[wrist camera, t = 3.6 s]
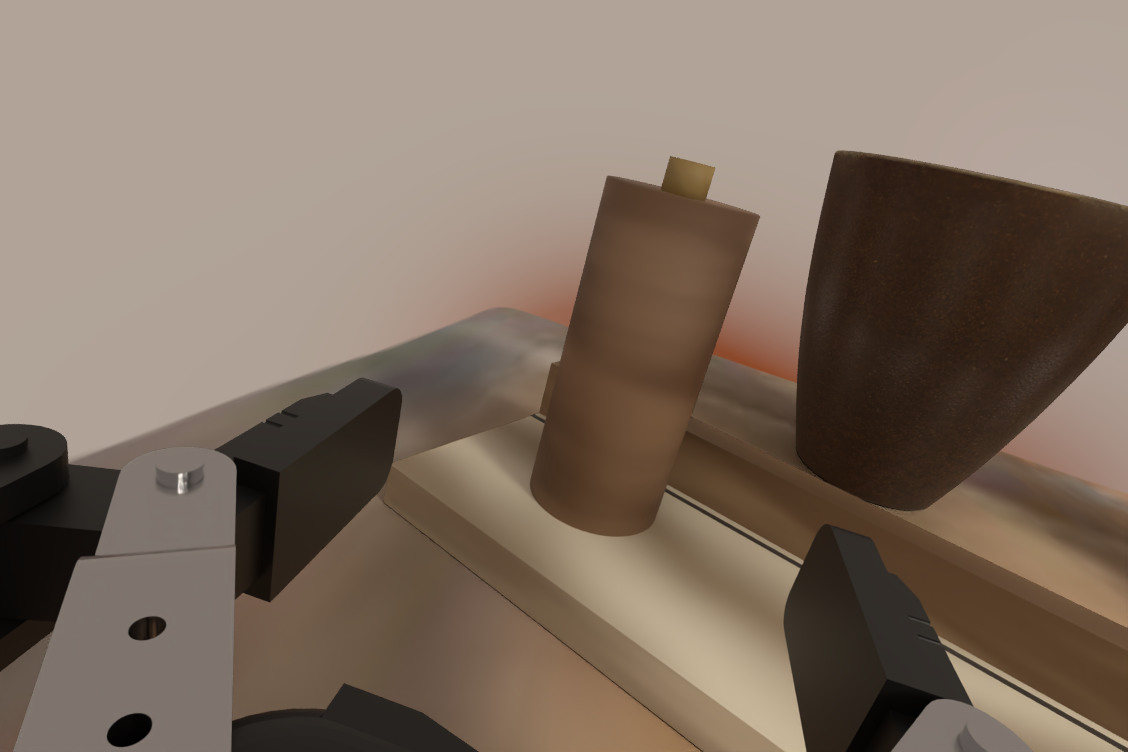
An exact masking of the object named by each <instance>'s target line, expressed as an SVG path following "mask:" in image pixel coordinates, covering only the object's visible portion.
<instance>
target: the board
mask: <svg viewBox="0 0 1128 752" xmlns="http://www.w3.org/2000/svg"><path fill="white" fill-rule="evenodd" d="M559 364H560V361H559V362H555V363H552V364H551V368H550V372H549V376H548V380H547V384H546V388H545V392H544V396H543V400H542V404H541V408H540V412H539V413H538V414H533V415H531V416H529V417H526V418H523V419H520V420H517V421H514V422H511V423H508V424H505V425H502V426H499V427H496V428H493V429H490V430H487V431H484V432H481V433H479V434H476V435H473V436H470V437H467V438H464V439H461V440H458V441H455V442H452V443H449V444H446V445H443V446H440V447H437V448H434V449H431V450H428V451H425V452H422V453H419V454H416V455H413V456H410V457H407V458H404V459H401V460H398V461H395V462H392V466H391V470H390V473H389V475H388V477H387V481H386V487H385V494H384V500H383V502H384V503H385V504H387V505H388V506H389V507H391V508H392V509H393V510H394V511H396V512H397V513H398V514H400V515H401V516H402V517H403V518H405V519H406V520H407V521H409V522H410V523H411V524H412V525H414V526H415V527H416V528H418V529H419V530H420V531H421V532H423V533H424V534H425V535H426V536H428V537H429V538H430V539H432V540H433V541H434V542H435V543H437V544H438V545H439V546H441V547H442V548H443V549H444V550H446V551H447V552H448V553H450V554H451V555H452V556H453V557H455V558H456V559H457V560H458V561H460V562H461V563H462V564H464V565H465V566H466V567H467V568H469V569H470V570H471V571H473V572H474V573H475V574H476V575H478V576H479V577H480V578H482V579H483V580H484V581H485V582H487V583H488V584H489V585H491V586H492V587H493V588H494V589H496V590H497V591H498V592H499V593H501V594H502V595H503V596H505V597H506V598H507V599H508V600H510V601H511V602H512V603H514V604H515V605H516V606H517V607H519V608H520V609H521V610H523V611H524V612H525V613H526V614H528V615H529V616H530V617H531V618H533V619H534V620H535V621H537V622H538V623H539V624H540V625H542V626H543V627H544V628H546V629H547V630H548V631H549V632H551V633H552V634H553V635H555V636H556V637H557V638H558V639H560V640H561V641H562V642H564V643H565V644H566V645H567V646H569V647H570V648H571V649H572V650H574V651H575V652H576V653H578V654H579V655H580V656H581V657H583V658H584V659H585V660H587V661H588V662H589V663H590V664H592V665H593V666H594V667H596V668H597V669H598V670H599V671H601V672H602V673H603V674H604V675H606V676H607V677H608V678H610V679H611V680H612V681H613V682H615V683H616V684H617V685H619V686H620V687H621V688H622V689H624V690H625V691H626V692H628V693H629V694H630V695H631V696H633V697H634V698H635V699H637V700H638V701H639V702H640V703H642V704H643V705H644V706H645V707H647V708H648V709H649V710H651V711H652V712H653V713H654V714H656V715H657V716H658V717H660V718H661V719H662V720H663V721H665V722H666V723H667V724H669V725H670V726H671V727H672V728H674V729H675V730H676V731H677V732H679V733H680V734H681V735H683V736H684V737H685V738H686V739H688V740H689V741H690V742H692V743H693V744H694V745H695V746H697V747H698V748H699V749H701V750H702V751H703V752H806V747H805V741H804V736H803V731H802V725H801V720H800V714H799V709H798V703H797V698H796V693H795V687H794V682H793V676H792V671H791V665H790V660H789V655H788V649H787V644H786V638H785V633H784V625H783V620H784V610H785V605H786V601H787V598H788V595H789V592H790V590H791V588H792V586H793V583H794V581H795V579H796V577H797V575H798V573H799V570H800V568H801V566H802V564H803V562H804V560H805V558H806V555H807V553H808V551H809V549H810V547H811V545H812V542H813V540H814V538H815V536H816V534H817V532H818V531H819V529H820V528H821V527H822V526H823V525H825V524H829V525H833V526H836V527H839V528H842V529H845V530H849V531H852V532H855V533H858V534H861V535H864V536H868V537H870V538H871V539H872V540H873V541H874V544H875V546H876V548H877V550H878V552H879V554H880V556H881V559H882V561H883V563H884V565H885V567H886V569H887V571H888V572H889V573H892V574H895V575H897V576H898V577H899V578H900V579H901V580H902V582H903V583H904V584H905V585H906V586H907V587H908V588H909V589H910V590H911V591H912V592H913V593H914V594H915V595H916V596H917V597H918V598H919V600H920V602H921V604H922V606H923V608H924V610H925V612H926V614H927V616H928V618H929V620H930V622H931V623H930V626H932V627H933V628H934V630H935V631H936V633H937V635H938V637H939V639H940V641H941V643H940V646H941V647H944V649H945V651H946V653H947V655H948V657H949V659H950V661H951V663H952V665H953V667H954V669H955V671H956V673H957V675H958V677H959V679H960V681H961V682H962V684H963V686H964V688H965V690H966V692H967V694H968V696H969V698H970V700H971V702H972V704H973V706H974V707H975V708H977V709H979V710H981V711H983V712H985V713H987V714H988V715H990V716H992V717H993V718H995V719H996V720H998V721H999V722H1001V723H1002V724H1004V725H1005V726H1006V727H1007V728H1009V729H1010V730H1011V731H1013V732H1014V733H1015V734H1016V735H1017V736H1018V737H1019V738H1021V739H1022V740H1023V741H1024V742H1025V743H1026V744H1027V745H1028V746H1029V747H1030V748H1031V750H1032V751H1033V752H1128V628H1126V627H1124V626H1122V625H1120V624H1118V623H1116V622H1114V621H1111V620H1109V619H1107V618H1105V617H1103V616H1101V615H1099V614H1097V613H1095V612H1093V611H1091V610H1089V609H1087V608H1085V607H1083V606H1081V605H1078V604H1076V603H1074V602H1072V601H1070V600H1068V599H1066V598H1064V597H1062V596H1060V595H1058V594H1056V593H1054V592H1052V591H1050V590H1047V589H1045V588H1043V587H1041V586H1039V585H1037V584H1035V583H1033V582H1031V581H1029V580H1027V579H1025V578H1023V577H1021V576H1019V575H1017V574H1014V573H1012V572H1010V571H1008V570H1006V569H1004V568H1002V567H1000V566H998V565H996V564H994V563H992V562H990V561H988V560H986V559H983V558H981V557H979V556H977V555H975V554H973V553H971V552H969V551H967V550H965V549H963V548H961V547H959V546H957V545H955V544H953V543H950V542H948V541H946V540H944V539H942V538H940V537H938V536H936V535H934V534H932V533H930V532H928V531H926V530H924V529H922V528H920V527H917V526H915V525H913V524H911V523H909V522H907V521H905V520H903V519H901V518H899V517H897V516H895V515H893V514H891V513H889V512H886V511H884V510H882V509H880V508H878V507H876V506H874V505H872V504H870V503H868V502H866V501H864V500H862V499H860V498H858V497H856V496H853V495H851V494H849V493H847V492H845V491H843V490H841V489H839V488H837V487H835V486H833V485H831V484H829V483H827V482H825V481H822V480H820V479H818V478H816V477H814V476H812V475H810V474H808V473H806V472H804V471H802V470H800V469H798V468H796V467H794V466H792V465H789V464H787V463H785V462H783V461H781V460H779V459H777V458H775V457H773V456H771V455H769V454H767V453H765V452H763V451H761V450H758V449H756V448H754V447H752V446H750V445H748V444H746V443H744V442H742V441H740V440H738V439H736V438H734V437H732V436H730V435H728V434H725V433H723V432H721V431H719V430H717V429H715V428H713V427H711V426H709V425H707V424H705V423H703V422H701V421H699V420H697V419H694V418H692V417H690V420H689V423H688V426H687V429H686V432H685V435H684V438H683V440H682V443H681V446H680V449H679V452H678V455H677V458H676V461H675V464H674V466H673V469H672V472H671V475H670V478H669V481H668V484H667V487H666V490H665V492H664V495H663V498H662V501H661V504H660V507H659V510H658V513H657V516H656V518H655V521H654V523H653V524H652V525H651V526H650V528H648V529H647V530H645V531H643V532H641V533H639V534H635V535H631V536H623V537H611V536H602V535H597V534H592V533H588V532H585V531H581V530H579V529H576V528H573V527H571V526H569V525H567V524H565V523H563V522H561V521H559V520H557V519H556V518H554V517H553V516H551V515H550V514H549V513H548V512H546V511H545V510H544V509H543V508H542V507H541V506H540V505H539V504H538V503H537V501H536V500H535V498H534V497H533V495H532V492H531V489H530V479H531V475H532V471H533V467H534V463H535V459H536V455H537V451H538V447H539V444H540V440H541V436H542V432H543V428H544V424H545V420H546V416H547V412H548V408H549V404H550V400H551V396H552V392H553V388H554V384H555V380H556V376H557V372H558V368H559Z"/></svg>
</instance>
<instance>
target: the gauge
mask: <svg viewBox="0 0 1128 752" xmlns="http://www.w3.org/2000/svg"><path fill="white" fill-rule="evenodd" d="M714 171H715V167H711V166H707V165H703V164H700V163H696V162H692V161H688V160H684V159H680V158H676V157H671V156H670V159H669V162H668V166H667V169H666V173H665V177H664V180H663V183H662V187H660V186H656V185H652V184H647V183H643V182H639V181H634V180H629V179H625V178H620V177H614V176H607V178H606V182H605V187H604V190H603V194H602V198H601V202H600V206H599V210H598V214H597V218H596V222H595V226H594V230H593V234H592V238H591V242H590V246H589V250H588V253H587V257H586V262H585V265H584V269H583V274H582V277H581V281H580V286H579V289H578V293H577V297H576V301H575V305H574V309H573V313H572V317H571V321H570V325H569V329H568V333H567V337H566V341H565V345H564V349H563V352H562V356H561V360H560V364H559V368H558V372H557V376H556V380H555V384H554V388H553V392H552V396H551V400H550V404H549V408H548V412H547V416H546V420H545V424H544V428H543V432H542V436H541V440H540V444H539V447H538V451H537V455H536V459H535V463H534V467H533V471H532V475H531V479H530V489H531V492H532V495H533V497H534V498H535V500H536V501H537V503H538V504H539V505H540V506H541V507H542V508H543V509H544V510H545V511H546V512H548V513H549V514H550V515H551V516H553V517H554V518H556V519H557V520H559V521H561V522H563V523H565V524H567V525H569V526H571V527H573V528H576V529H579V530H581V531H585V532H588V533H592V534H597V535H602V536H611V537H623V536H631V535H635V534H639V533H641V532H643V531H645V530H647V529H648V528H650V526H651V525H652V524H653V523H654V521H655V518H656V516H657V513H658V510H659V507H660V504H661V501H662V498H663V495H664V492H665V490H666V487H667V484H668V481H669V478H670V475H671V472H672V469H673V466H674V464H675V461H676V458H677V455H678V452H679V449H680V446H681V443H682V440H683V438H684V435H685V432H686V429H687V426H688V423H689V420H690V417H691V415H692V412H693V409H694V406H695V403H696V400H697V397H698V394H699V391H700V389H701V386H702V383H703V380H704V377H705V374H706V371H707V368H708V365H709V363H710V360H711V357H712V354H713V351H714V348H715V345H716V342H717V339H718V337H719V334H720V331H721V328H722V325H723V322H724V319H725V316H726V313H727V310H728V308H729V305H730V302H731V299H732V296H733V293H734V290H735V288H736V285H737V282H738V279H739V276H740V273H741V270H742V267H743V264H744V262H745V259H746V256H747V253H748V250H749V247H750V244H751V241H752V238H753V236H754V233H755V230H756V227H757V224H758V221H759V218H760V216H759V215H757V214H755V213H752V212H749V211H746V210H743V209H740V208H737V207H733V206H730V205H727V204H723V203H720V202H716V201H713V200H709V199H706V197H707V193H708V190H709V187H710V184H711V180H712V177H713V174H714Z"/></svg>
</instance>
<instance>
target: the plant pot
mask: <svg viewBox="0 0 1128 752" xmlns="http://www.w3.org/2000/svg"><path fill="white" fill-rule="evenodd" d="M1127 323H1128V206H1125V205H1120V204H1117V203H1113V202H1109V201H1105V200H1101V199H1097V198H1093V197H1088V196H1084V195H1080V194H1076V193H1071V192H1067V191H1063V190H1058V189H1054V188H1049V187H1045V186H1040V185H1036V184H1031V183H1026V182H1022V181H1018V180H1013V179H1008V178H1003V177H998V176H993V175H988V174H983V173H978V172H974V171H969V170H963V169H958V168H953V167H948V166H943V165H937V164H931V163H926V162H921V161H915V160H910V159H904V158H898V157H891V156H885V155H879V154H871V153H863V152H855V151H837V152H836V153H835V155H834V159H833V163H832V168H831V172H830V176H829V180H828V185H827V189H826V193H825V198H824V202H823V206H822V211H821V215H820V220H819V225H818V229H817V234H816V239H815V244H814V249H813V254H812V260H811V265H810V271H809V277H808V283H807V288H806V295H805V302H804V311H803V319H802V328H801V336H800V347H799V359H798V374H797V399H796V449H797V452H798V454H799V456H800V458H801V459H802V461H803V462H804V463H805V464H806V465H807V466H808V467H809V468H810V469H811V470H812V471H813V472H815V473H816V474H817V475H819V476H820V477H822V478H823V479H824V480H826V481H828V482H829V483H831V484H832V485H834V486H836V487H837V488H839V489H841V490H843V491H845V492H847V493H849V494H851V495H854V496H856V497H859V498H861V499H863V500H866V501H869V502H871V503H875V504H878V505H881V506H885V507H889V508H893V509H899V510H908V511H914V510H922V509H925V508H927V507H929V506H930V505H932V504H933V503H934V502H936V501H937V500H939V499H940V498H941V497H943V496H944V495H945V494H947V493H948V492H949V491H951V490H952V489H953V488H955V487H956V486H957V485H959V484H960V483H961V482H962V481H964V480H965V479H966V478H967V477H969V476H970V475H971V474H972V473H974V472H975V471H976V470H977V469H979V468H980V467H981V466H982V465H984V464H985V463H986V462H987V461H988V460H990V459H991V458H992V457H993V456H994V455H995V454H997V453H998V452H999V451H1000V450H1001V449H1002V448H1003V447H1004V446H1005V445H1007V444H1008V443H1009V442H1010V441H1011V440H1012V439H1014V438H1015V437H1016V436H1017V435H1018V434H1019V433H1020V432H1021V431H1022V430H1023V429H1025V428H1026V427H1027V426H1028V425H1029V424H1030V423H1031V422H1032V421H1033V420H1035V419H1036V418H1037V416H1039V415H1040V414H1041V413H1042V412H1043V411H1044V410H1045V409H1046V408H1047V407H1048V406H1049V405H1050V404H1051V403H1052V402H1053V401H1054V400H1055V399H1056V398H1057V397H1058V396H1059V395H1060V394H1061V393H1062V392H1063V391H1064V390H1065V389H1066V388H1067V387H1068V386H1069V385H1070V384H1071V383H1072V382H1073V381H1074V380H1075V379H1076V378H1077V377H1078V376H1079V375H1080V374H1081V373H1082V372H1083V371H1084V370H1085V369H1086V368H1087V367H1088V366H1089V364H1091V363H1092V362H1093V361H1094V360H1095V358H1096V357H1097V356H1098V355H1099V354H1100V353H1101V352H1102V351H1103V350H1104V349H1105V348H1106V347H1107V346H1108V344H1109V343H1110V342H1111V341H1112V340H1113V339H1114V338H1115V337H1116V335H1117V334H1118V333H1119V332H1120V331H1121V330H1122V329H1123V328H1124V326H1125V325H1126V324H1127Z"/></svg>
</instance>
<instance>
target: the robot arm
mask: <svg viewBox="0 0 1128 752" xmlns="http://www.w3.org/2000/svg"><path fill="white" fill-rule="evenodd" d="M401 404H402V394H401V391H400V390H399V389H398V388H394V387H391V386H388V385H385V384H382V383H378V382H375V381H372V380H369V379H366V378H359V379H357V380H356V381H354V382H353V383H351V384H349V385H348V386H346V387H345V388H343V389H341V390H340V391H338V392H337V393H335V394H333V395H332V394H329V393H325V394H321V395H317V396H313V397H309V398H305V399H301V400H299V401H297V402H296V403H294V404H292V405H291V406H289V407H287V408H285V409H284V410H282V412H281V413H277V414H275V415H273V416H272V417H270V418H268V419H267V420H266V422H265V423H263V422H261V423H260V424H258V425H256V426H255V427H253V428H251V429H250V430H248V431H246V432H244V433H243V434H241V435H239V436H238V437H236V438H234V439H232V440H231V441H229V442H227V443H226V444H224V445H222V446H220V447H219V448H217V449H215V450H211V449H206V448H199V447H172V448H165V449H160V450H155V451H152V452H149V453H146V454H143V455H141V456H138V457H137V458H135V459H133V460H131V461H130V462H129V463H127V464H126V465H125V466H124V467H123V469H122V470H114V469H105V468H97V467H88V466H79V465H71V464H68V451H67V441H66V439H65V437H64V436H63V435H62V434H60V433H59V432H57V431H55V430H52V429H49V428H45V427H41V426H35V425H25V424H24V425H23V424H8V425H7V424H6V425H0V671H2V670H3V669H4V668H6V667H7V666H8V665H9V664H11V663H12V662H13V661H15V660H16V659H17V658H18V657H20V656H21V655H22V654H24V653H25V652H26V651H27V650H29V649H30V648H31V647H33V646H34V645H35V644H36V643H38V642H39V641H40V640H41V639H43V638H44V637H45V636H47V635H48V634H49V633H50V632H52V631H53V633H52V636H51V639H50V642H49V645H48V648H47V651H46V654H45V657H44V660H43V663H42V666H41V669H40V672H39V675H38V678H37V681H36V684H35V687H34V690H33V693H32V696H31V699H30V702H29V705H28V708H27V711H26V714H25V717H24V720H23V723H22V726H21V729H20V732H19V735H18V738H17V741H16V744H15V747H14V750H13V752H478V751H477V750H475V749H474V748H472V747H471V746H469V745H468V744H467V743H465V742H464V741H462V740H461V739H459V738H458V737H457V736H455V735H454V734H452V733H451V732H449V731H448V730H446V729H445V728H444V727H442V726H441V725H439V724H438V723H436V722H435V721H434V720H432V719H431V718H429V717H428V716H426V715H425V714H423V713H422V712H419V711H417V710H414V709H411V708H409V707H406V706H403V705H401V704H398V703H395V702H393V701H390V700H387V699H385V698H382V697H379V696H377V695H374V694H371V693H369V692H366V691H363V690H361V689H358V688H355V687H353V686H350V685H347V684H345V683H344V684H343V686H342V687H341V689H340V690H339V692H338V693H337V694H336V696H335V697H334V699H333V700H332V702H331V703H330V705H329V706H328V708H327V709H326V710H325V709H286V710H277V711H270V712H265V713H260V714H255V715H251V716H247V717H243V718H240V719H237V720H234V721H232V690H233V646H234V601H235V599H236V598H238V597H239V596H240V595H241V594H242V593H245V594H248V595H251V596H254V597H256V598H259V599H262V600H265V601H267V602H271V601H272V600H273V599H274V598H275V597H276V596H277V595H278V594H279V593H280V592H281V591H282V590H283V589H284V588H285V587H286V586H287V585H288V584H289V583H290V582H291V581H292V580H293V579H294V577H295V576H296V575H297V574H298V573H299V572H300V571H301V570H302V569H303V568H304V567H305V566H306V565H307V564H308V563H309V562H310V561H311V560H312V559H313V558H314V557H315V556H316V555H317V554H318V553H319V552H320V551H321V550H322V549H323V548H324V547H325V546H326V545H327V544H328V543H329V542H330V541H331V540H332V539H333V538H334V537H335V536H336V535H337V534H338V533H339V532H340V531H341V530H342V529H343V528H344V527H345V526H346V525H347V524H348V523H349V522H350V521H351V520H352V519H353V518H354V517H355V516H356V515H357V514H358V513H359V512H360V511H361V509H362V508H363V507H364V506H365V505H366V504H367V503H368V502H369V501H370V500H371V499H372V498H373V497H374V496H375V495H376V494H377V493H378V492H379V491H380V490H381V488H382V487H383V485H384V484H385V482H386V480H387V477H388V475H389V473H390V470H391V466H392V462H393V457H394V450H395V444H396V437H397V430H398V424H399V417H400V411H401ZM930 623H931V622H930V620H929V618H928V616H927V614H926V612H925V610H924V608H923V606H922V604H921V602H920V600H919V598H918V597H917V596H916V595H915V594H914V593H913V592H912V591H911V590H910V589H909V588H908V587H907V586H906V585H905V584H904V583H903V582H902V580H901V579H900V578H899V577H898V576H897V575H895V574H892V573H889V572H888V571H887V569H886V567H885V565H884V563H883V561H882V559H881V556H880V554H879V552H878V550H877V548H876V546H875V544H874V541H873V540H872V539H871V538H870V537H868V536H864V535H861V534H858V533H855V532H852V531H849V530H845V529H842V528H839V527H836V526H833V525H829V524H825V525H823V526H822V527H821V528H820V529H819V531H818V532H817V534H816V536H815V538H814V540H813V542H812V545H811V547H810V549H809V551H808V553H807V555H806V558H805V560H804V562H803V564H802V566H801V568H800V570H799V573H798V575H797V577H796V579H795V581H794V583H793V586H792V588H791V590H790V592H789V595H788V598H787V601H786V605H785V610H784V620H783V625H784V633H785V638H786V644H787V649H788V655H789V660H790V665H791V671H792V676H793V682H794V687H795V693H796V698H797V703H798V709H799V714H800V720H801V725H802V731H803V736H804V741H805V747H806V752H1033V751H1032V750H1031V748H1030V747H1029V746H1028V745H1027V744H1026V743H1025V742H1024V741H1023V740H1022V739H1021V738H1019V737H1018V736H1017V735H1016V734H1015V733H1014V732H1013V731H1011V730H1010V729H1009V728H1007V727H1006V726H1005V725H1004V724H1002V723H1001V722H999V721H998V720H996V719H995V718H993V717H992V716H990V715H988V714H987V713H985V712H983V711H981V710H979V709H977V708H975V707H974V706H973V704H972V702H971V700H970V698H969V696H968V694H967V692H966V690H965V688H964V686H963V684H962V682H961V681H960V679H959V677H958V675H957V673H956V671H955V669H954V667H953V665H952V663H951V661H950V659H949V657H948V655H947V653H946V651H945V649H944V647H941V646H940V643H941V641H940V639H939V637H938V635H937V633H936V631H935V630H934V628H933V627H932V626H930Z"/></svg>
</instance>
